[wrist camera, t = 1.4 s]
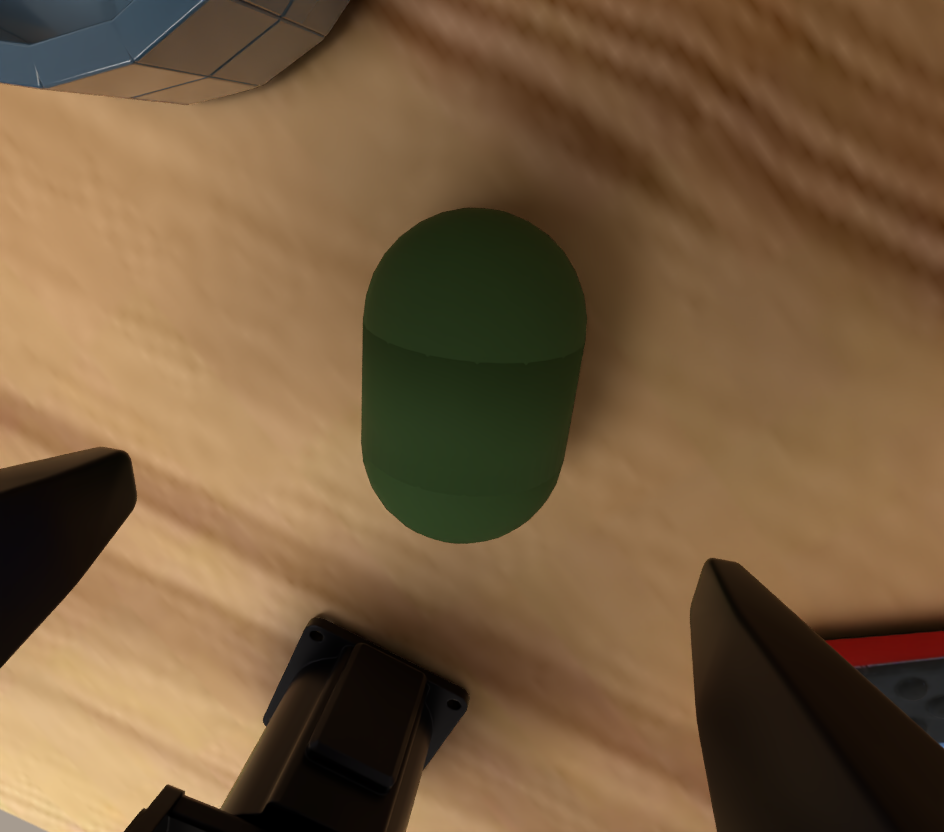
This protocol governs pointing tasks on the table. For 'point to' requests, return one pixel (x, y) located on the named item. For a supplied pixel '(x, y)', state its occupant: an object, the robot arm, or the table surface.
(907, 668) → the game console
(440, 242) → the green rounded cylinder
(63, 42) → the bowl
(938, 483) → the table surface
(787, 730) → the robot arm
